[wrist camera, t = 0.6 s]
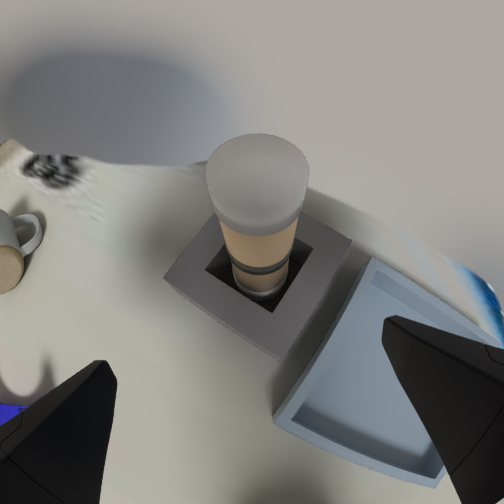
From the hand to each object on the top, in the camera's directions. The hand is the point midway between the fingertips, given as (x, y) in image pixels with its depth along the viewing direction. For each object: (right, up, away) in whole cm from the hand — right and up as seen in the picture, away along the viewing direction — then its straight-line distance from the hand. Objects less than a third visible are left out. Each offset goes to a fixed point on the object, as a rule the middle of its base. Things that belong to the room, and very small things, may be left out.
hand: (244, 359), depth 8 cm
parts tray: (+12, -8, +10) cm, 18 cm away
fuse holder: (+1, +1, +15) cm, 15 cm away
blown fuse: (+1, +1, +15) cm, 15 cm away
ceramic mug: (-29, +3, +17) cm, 34 cm away
